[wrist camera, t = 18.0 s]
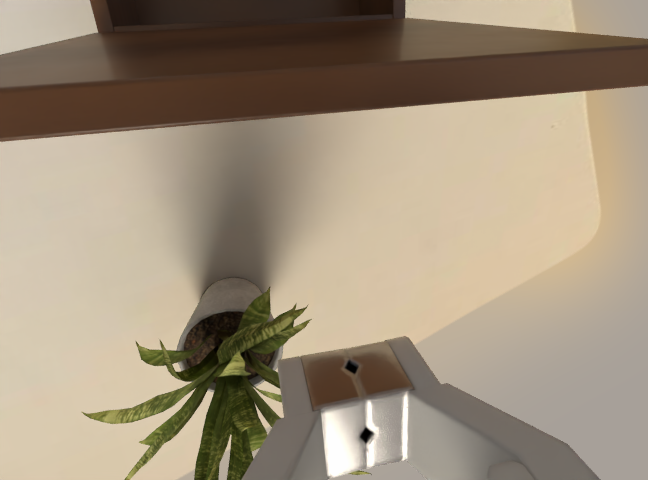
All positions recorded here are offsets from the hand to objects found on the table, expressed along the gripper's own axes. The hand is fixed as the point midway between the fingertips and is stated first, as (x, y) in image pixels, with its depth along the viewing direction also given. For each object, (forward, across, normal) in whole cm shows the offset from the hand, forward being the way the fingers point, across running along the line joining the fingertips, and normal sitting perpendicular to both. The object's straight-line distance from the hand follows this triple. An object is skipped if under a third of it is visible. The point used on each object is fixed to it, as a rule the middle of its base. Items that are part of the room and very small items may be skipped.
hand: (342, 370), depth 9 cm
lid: (+7, 0, -8) cm, 10 cm away
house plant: (+22, +4, +11) cm, 25 cm away
